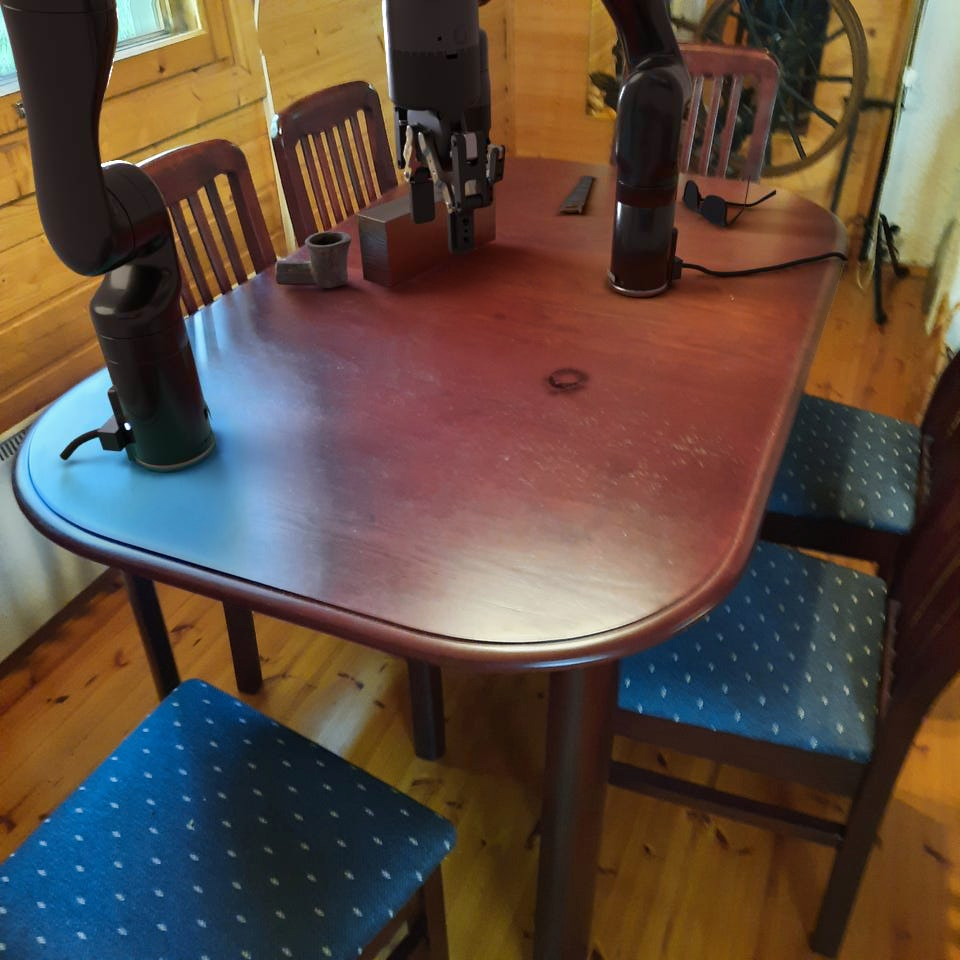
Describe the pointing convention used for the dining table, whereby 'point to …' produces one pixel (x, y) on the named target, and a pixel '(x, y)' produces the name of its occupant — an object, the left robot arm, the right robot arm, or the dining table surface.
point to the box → (412, 239)
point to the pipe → (318, 262)
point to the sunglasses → (714, 204)
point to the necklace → (562, 383)
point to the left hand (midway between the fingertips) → (442, 236)
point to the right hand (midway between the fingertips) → (470, 202)
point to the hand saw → (577, 197)
